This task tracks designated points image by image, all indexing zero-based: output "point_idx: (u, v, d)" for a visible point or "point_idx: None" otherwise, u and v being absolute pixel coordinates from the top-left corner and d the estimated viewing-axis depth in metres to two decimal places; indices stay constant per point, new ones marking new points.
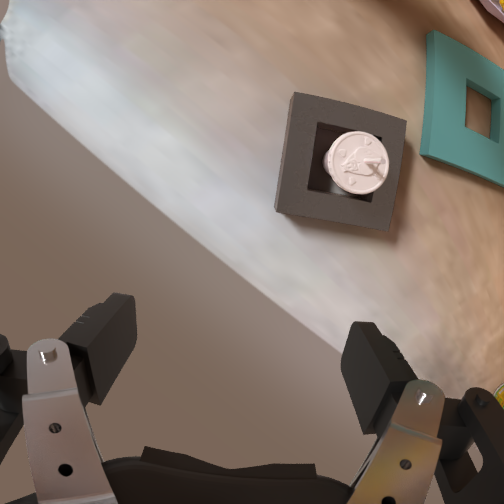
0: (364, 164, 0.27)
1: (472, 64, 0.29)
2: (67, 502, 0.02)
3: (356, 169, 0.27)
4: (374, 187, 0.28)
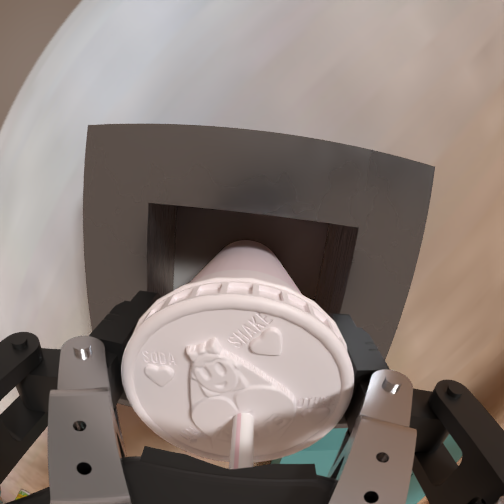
0: (229, 414, 0.07)
1: None
2: (80, 500, 0.02)
3: (205, 391, 0.07)
4: (160, 431, 0.08)
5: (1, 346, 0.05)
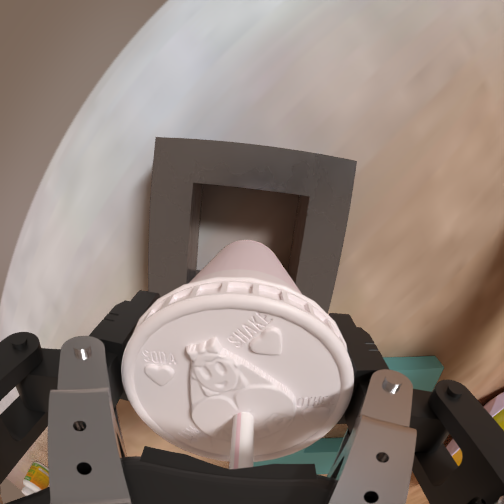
0: (229, 414, 0.07)
1: None
2: (80, 500, 0.02)
3: (205, 391, 0.07)
4: (161, 431, 0.08)
5: (1, 346, 0.05)
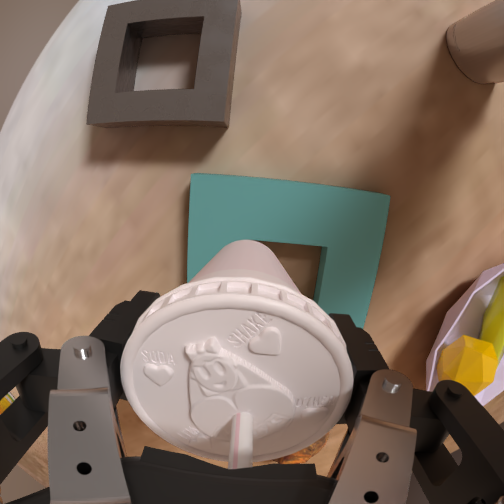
0: (229, 414, 0.07)
1: (354, 262, 0.30)
2: (80, 500, 0.02)
3: (204, 391, 0.07)
4: (160, 431, 0.08)
5: (1, 346, 0.05)
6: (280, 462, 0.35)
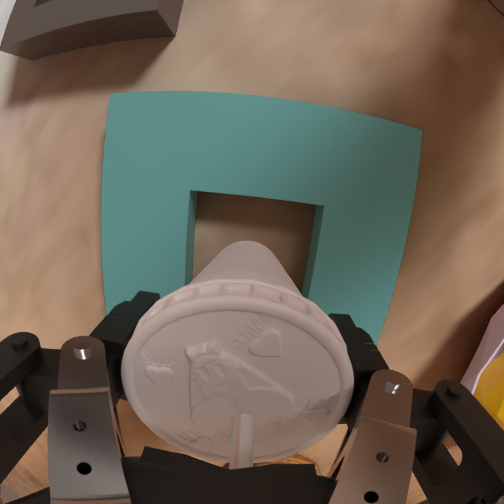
0: (229, 415, 0.07)
1: (367, 235, 0.18)
2: (80, 500, 0.02)
3: (205, 392, 0.07)
4: (160, 432, 0.08)
5: (1, 346, 0.05)
6: None
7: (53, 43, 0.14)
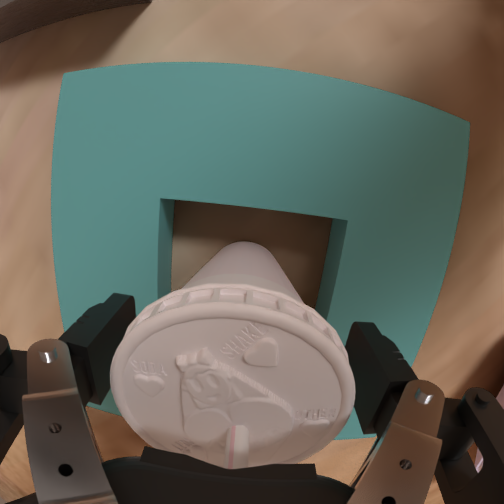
0: (223, 427, 0.07)
1: (402, 259, 0.13)
2: (67, 502, 0.02)
3: (197, 403, 0.06)
4: (153, 441, 0.07)
5: None
6: None
7: (10, 22, 0.09)
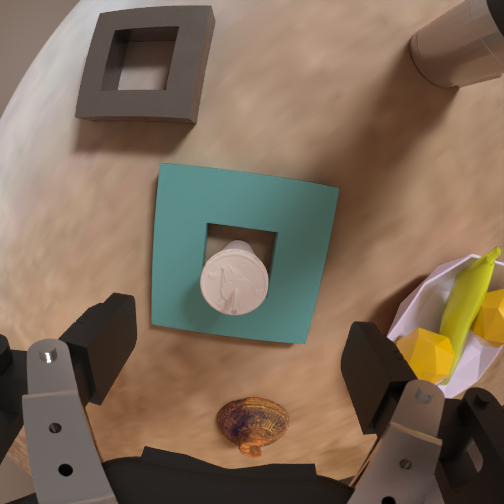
0: (232, 289, 0.28)
1: (303, 248, 0.34)
2: (67, 502, 0.02)
3: (226, 280, 0.27)
4: (209, 300, 0.28)
5: None
6: (240, 444, 0.39)
7: (115, 118, 0.30)
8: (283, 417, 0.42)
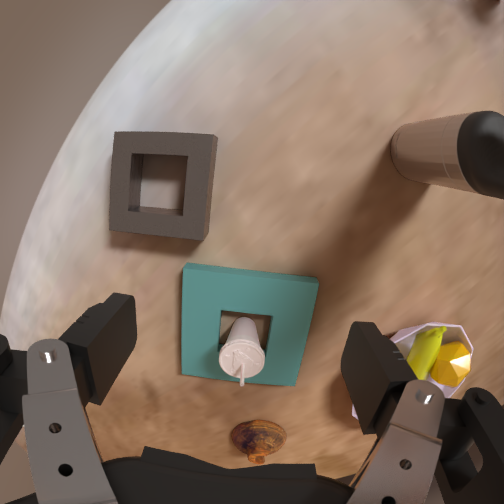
0: (240, 364, 0.40)
1: (291, 325, 0.46)
2: (67, 502, 0.02)
3: (236, 359, 0.39)
4: (225, 370, 0.40)
5: None
6: (248, 454, 0.51)
7: None
8: (280, 434, 0.54)
